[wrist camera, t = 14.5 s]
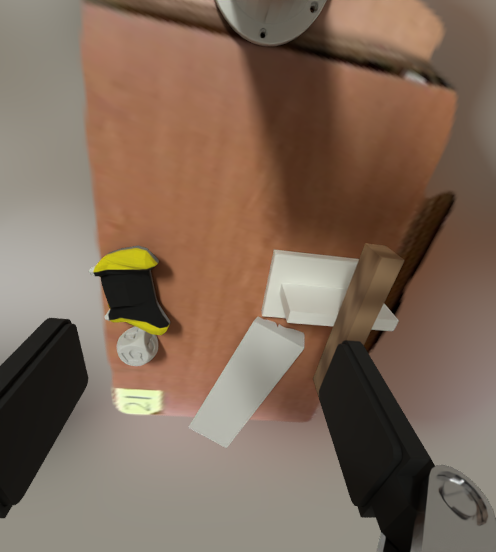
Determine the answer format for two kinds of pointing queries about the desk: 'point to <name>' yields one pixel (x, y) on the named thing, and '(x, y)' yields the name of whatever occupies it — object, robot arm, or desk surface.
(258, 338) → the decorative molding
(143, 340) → the die
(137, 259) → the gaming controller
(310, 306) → the stand
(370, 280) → the walnut batten
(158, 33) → the desk surface
